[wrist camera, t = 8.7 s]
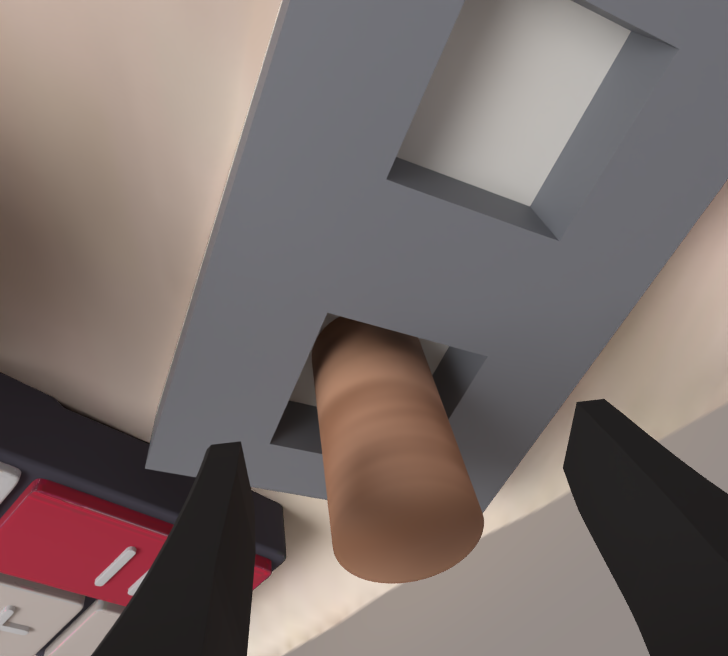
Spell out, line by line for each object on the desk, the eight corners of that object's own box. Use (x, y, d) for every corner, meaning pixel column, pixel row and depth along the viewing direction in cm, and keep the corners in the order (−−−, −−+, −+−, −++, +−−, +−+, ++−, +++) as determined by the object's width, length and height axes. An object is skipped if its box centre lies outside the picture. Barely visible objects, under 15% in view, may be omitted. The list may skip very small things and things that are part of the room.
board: (767, 1, 18) (845, 18, 16) (455, 469, 28) (473, 525, 25) (354, -238, 14) (372, -267, 12) (157, 409, 24) (144, 468, 21)
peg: (426, 383, 24) (488, 564, 17) (324, 407, 24) (348, 596, 17) (412, 297, 22) (478, 467, 15) (299, 323, 22) (317, 504, 15)
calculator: (143, 697, 29) (-251, 621, 21) (152, 609, 32) (-185, 516, 25) (293, 574, 25) (-122, 429, 18) (285, 489, 29) (-65, 337, 21)
